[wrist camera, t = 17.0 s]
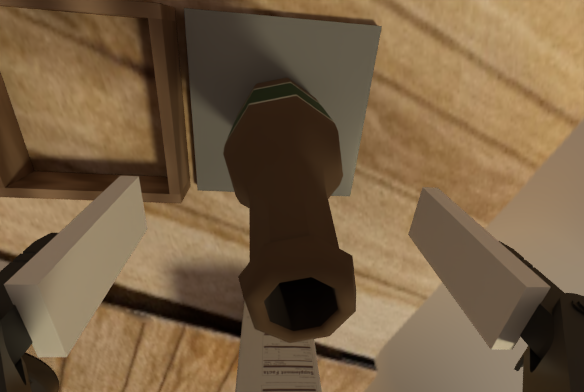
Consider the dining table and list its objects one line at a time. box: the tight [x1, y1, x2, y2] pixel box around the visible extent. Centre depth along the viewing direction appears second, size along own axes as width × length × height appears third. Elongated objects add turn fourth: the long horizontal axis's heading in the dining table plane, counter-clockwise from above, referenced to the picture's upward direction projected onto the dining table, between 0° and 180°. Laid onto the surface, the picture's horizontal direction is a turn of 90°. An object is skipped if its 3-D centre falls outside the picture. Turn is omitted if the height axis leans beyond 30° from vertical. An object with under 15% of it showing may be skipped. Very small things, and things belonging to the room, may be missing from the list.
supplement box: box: [235, 300, 322, 392], centre depth 37 cm, size 10×9×17 cm
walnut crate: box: [0, 0, 190, 203], centre depth 27 cm, size 17×17×4 cm
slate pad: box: [184, 8, 382, 196], centre depth 30 cm, size 17×17×1 cm
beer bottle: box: [223, 77, 356, 343], centre depth 19 cm, size 8×8×24 cm
